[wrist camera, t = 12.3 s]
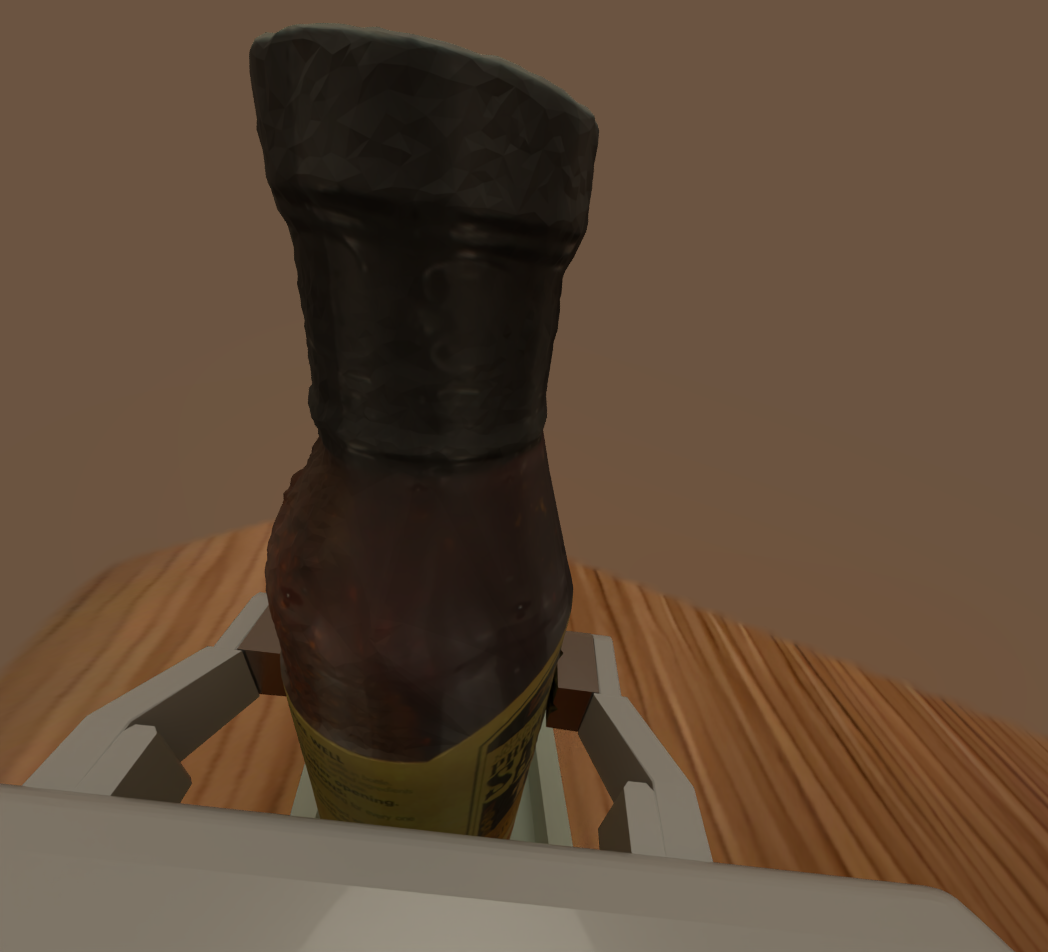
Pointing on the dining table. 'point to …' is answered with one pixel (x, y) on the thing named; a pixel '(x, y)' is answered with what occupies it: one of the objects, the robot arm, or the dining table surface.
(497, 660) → the sauce bottle
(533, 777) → the caddy
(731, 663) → the dining table surface
